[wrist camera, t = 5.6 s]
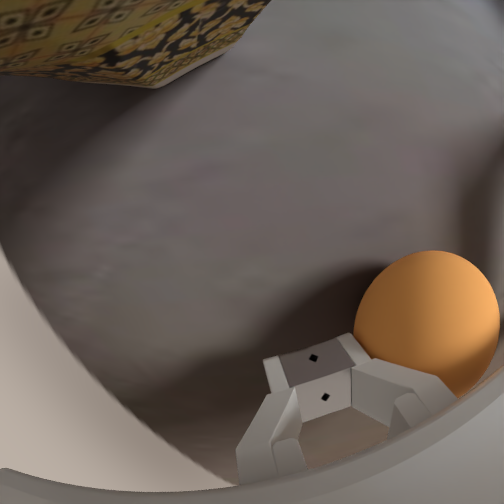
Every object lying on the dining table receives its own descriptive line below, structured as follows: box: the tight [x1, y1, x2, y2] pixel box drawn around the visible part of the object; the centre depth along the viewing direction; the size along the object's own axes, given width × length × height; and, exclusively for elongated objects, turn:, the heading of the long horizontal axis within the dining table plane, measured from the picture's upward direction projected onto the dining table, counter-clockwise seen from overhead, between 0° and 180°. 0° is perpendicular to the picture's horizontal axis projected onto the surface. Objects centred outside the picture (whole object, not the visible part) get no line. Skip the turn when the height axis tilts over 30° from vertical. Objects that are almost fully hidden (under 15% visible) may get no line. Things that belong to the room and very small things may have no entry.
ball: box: [353, 251, 500, 398], centre depth 8 cm, size 6×6×6 cm
